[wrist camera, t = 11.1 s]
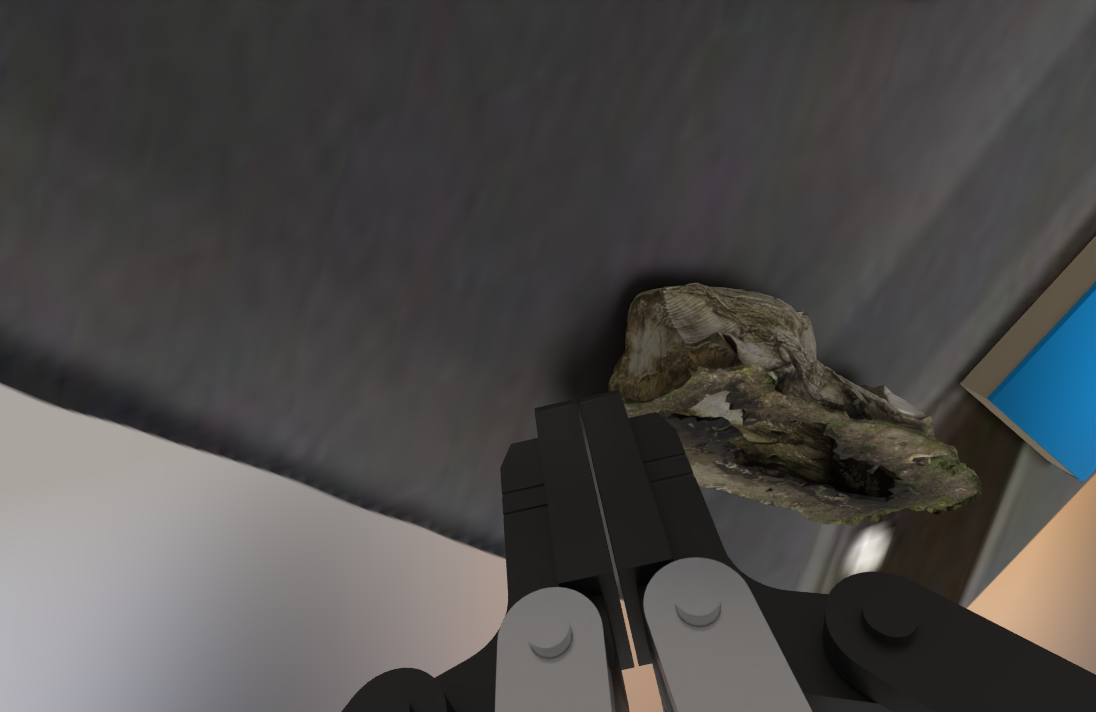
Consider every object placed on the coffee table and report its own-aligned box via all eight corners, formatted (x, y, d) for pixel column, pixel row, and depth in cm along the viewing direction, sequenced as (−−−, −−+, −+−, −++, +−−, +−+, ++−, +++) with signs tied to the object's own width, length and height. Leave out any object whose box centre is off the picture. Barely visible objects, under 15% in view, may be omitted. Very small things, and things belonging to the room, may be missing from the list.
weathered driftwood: (835, 410, 60) (1015, 367, 48) (835, 550, 55) (1038, 541, 43) (592, 277, 49) (748, 176, 37) (559, 437, 43) (731, 380, 31)
